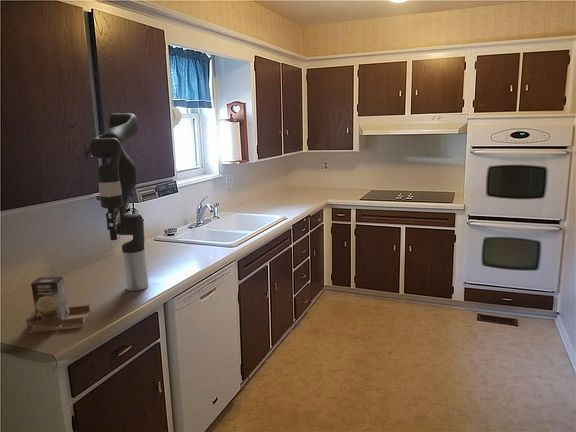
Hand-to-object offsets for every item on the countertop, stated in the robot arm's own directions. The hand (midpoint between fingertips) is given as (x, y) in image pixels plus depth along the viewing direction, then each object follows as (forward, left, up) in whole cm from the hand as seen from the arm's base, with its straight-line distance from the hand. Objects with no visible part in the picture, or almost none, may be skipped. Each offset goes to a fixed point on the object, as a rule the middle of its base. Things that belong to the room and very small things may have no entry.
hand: (115, 236), depth 163 cm
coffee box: (+3, -24, -29) cm, 38 cm away
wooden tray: (+3, -22, -30) cm, 37 cm away
